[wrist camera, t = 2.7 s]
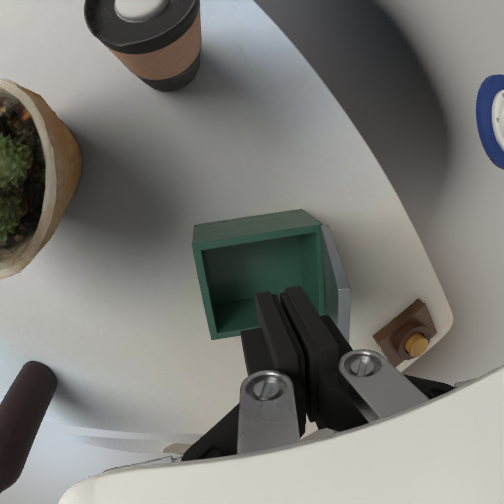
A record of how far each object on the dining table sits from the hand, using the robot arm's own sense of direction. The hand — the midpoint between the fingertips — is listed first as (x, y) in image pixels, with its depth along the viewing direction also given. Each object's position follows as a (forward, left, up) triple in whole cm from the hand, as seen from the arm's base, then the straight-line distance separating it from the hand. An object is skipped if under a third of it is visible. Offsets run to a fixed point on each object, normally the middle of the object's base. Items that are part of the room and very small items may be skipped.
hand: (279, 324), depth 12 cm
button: (-26, +26, -25) cm, 45 cm away
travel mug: (+5, -17, -29) cm, 34 cm away
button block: (-26, +26, -29) cm, 47 cm away
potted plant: (+23, -8, -29) cm, 38 cm away
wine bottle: (+37, +24, -29) cm, 52 cm away
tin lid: (-7, +9, -14) cm, 18 cm away
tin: (-2, +9, -29) cm, 30 cm away
